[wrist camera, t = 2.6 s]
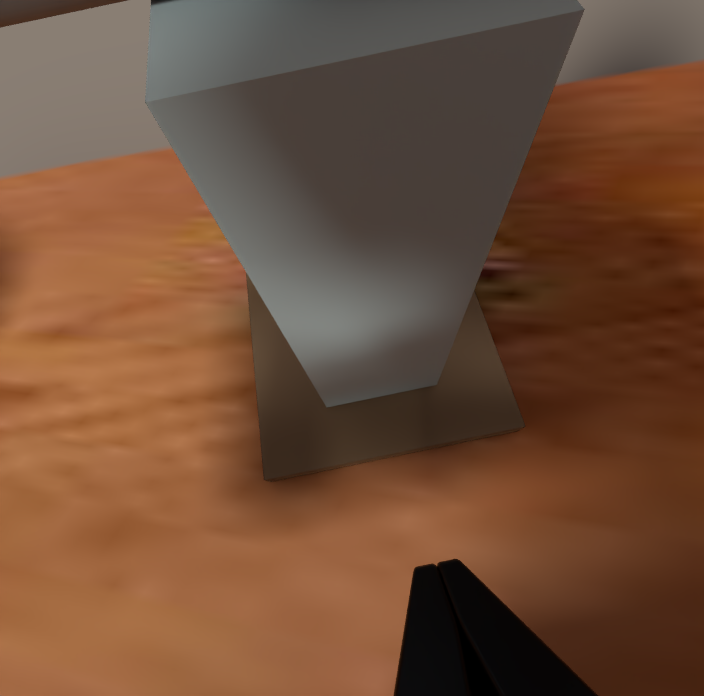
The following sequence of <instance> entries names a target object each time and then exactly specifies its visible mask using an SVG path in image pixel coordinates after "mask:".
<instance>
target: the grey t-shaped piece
mask: <svg viewBox="0 0 704 696" xmlns="http://www.w3.org/2000/svg"><path fill="white" fill-rule="evenodd" d="M122 1H127V0H0V27H5V26H9V25H14V24H19V23H23V22H28V21H33V20H38V19H42V18H47V17H52V16H56V15H61V14H66V13H70V12H75V11H79V10H84V9H89V8H94V7H98V6H103V5H107V4H112V3H117V2H122ZM583 12H584V8H583V7H582V6H581V4H580V3H579V2H578V1H577V0H151V12H150V13H151V14H150V29H149V46H148V65H147V81H146V99H145V103H146V104H147V106H148V108H149V109H150V111H151V112H152V114H153V116H154V118H155V120H156V121H157V123H158V125H159V126H160V128H161V130H162V131H163V133H164V135H165V136H166V138H167V140H168V141H169V143H170V145H171V146H172V148H173V150H174V151H175V153H176V155H177V157H178V158H179V160H180V162H181V163H182V165H183V167H184V168H185V170H186V172H187V173H188V175H189V177H190V178H191V180H192V182H193V183H194V185H195V187H196V188H197V190H198V192H199V194H200V195H201V197H202V199H203V200H204V202H205V204H206V205H207V207H208V209H209V210H210V212H211V214H212V215H213V217H214V219H215V220H216V222H217V224H218V225H219V227H220V229H221V231H222V232H223V234H224V236H225V237H226V239H227V241H228V242H229V244H230V246H231V247H232V249H233V251H234V252H235V254H236V256H237V257H238V259H239V261H240V262H241V264H242V266H243V268H244V269H245V271H246V273H247V274H248V276H249V278H250V279H251V281H252V283H253V284H254V286H255V288H256V289H257V291H258V293H259V294H260V296H261V298H262V300H263V301H264V303H265V305H266V306H267V308H268V310H269V311H270V313H271V315H272V316H273V318H274V320H275V321H276V323H277V325H278V326H279V328H280V330H281V331H282V333H283V335H284V337H285V338H286V340H287V342H288V343H289V345H290V347H291V348H292V350H293V352H294V353H295V355H296V357H297V358H298V360H299V362H300V363H301V365H302V367H303V368H304V370H305V372H306V374H307V375H308V377H309V379H310V380H311V382H312V384H313V385H314V387H315V389H316V390H317V392H318V394H319V395H320V397H321V399H322V400H323V402H324V404H325V405H326V407H332V406H337V405H342V404H346V403H351V402H356V401H361V400H366V399H371V398H376V397H380V396H385V395H390V394H395V393H400V392H405V391H409V390H414V389H419V388H424V387H429V386H434V385H437V383H438V380H439V378H440V375H441V373H442V370H443V368H444V365H445V363H446V360H447V358H448V355H449V353H450V350H451V347H452V345H453V342H454V340H455V337H456V335H457V332H458V330H459V327H460V325H461V322H462V320H463V317H464V314H465V312H466V309H467V307H468V304H469V302H470V299H471V297H472V294H473V292H474V289H475V287H476V284H477V281H478V279H479V276H480V274H481V271H482V269H483V266H484V264H485V261H486V259H487V256H488V253H489V251H490V248H491V246H492V243H493V241H494V238H495V236H496V233H497V231H498V228H499V226H500V223H501V220H502V218H503V215H504V213H505V210H506V208H507V205H508V203H509V200H510V198H511V195H512V193H513V190H514V187H515V185H516V182H517V180H518V177H519V175H520V172H521V170H522V167H523V165H524V162H525V159H526V157H527V154H528V152H529V149H530V147H531V144H532V142H533V139H534V137H535V134H536V132H537V129H538V126H539V124H540V121H541V119H542V116H543V114H544V111H545V109H546V106H547V104H548V101H549V99H550V96H551V93H552V91H553V88H554V86H555V83H556V81H557V78H558V76H559V73H560V71H561V68H562V65H563V63H564V60H565V58H566V55H567V53H568V50H569V48H570V45H571V42H572V40H573V37H574V35H575V32H576V30H577V27H578V25H579V22H580V20H581V17H582V15H583Z"/></svg>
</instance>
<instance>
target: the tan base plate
mask: <svg viewBox="0 0 704 696" xmlns="http://www.w3.org/2000/svg"><path fill="white" fill-rule="evenodd" d="M246 278H247V289H248V301H249V312H250V324H251V335H252V347H253V358H254V370H255V382H256V393H257V405H258V416H259V428H260V439H261V451H262V462H263V474H264V480H266V481H270V482H272V481H277V480H282V479H286V478H291V477H296V476H301V475H306V474H311V473H316V472H321V471H325V470H330V469H335V468H340V467H345V466H350V465H355V464H359V463H364V462H369V461H374V460H379V459H384V458H389V457H394V456H398V455H403V454H408V453H413V452H418V451H423V450H428V449H432V448H437V447H442V446H447V445H452V444H457V443H462V442H466V441H471V440H476V439H481V438H486V437H491V436H496V435H501V434H505V433H510V432H515V431H519V430H520V429H522V428H524V427H525V424H524V421H523V418H522V416H521V413H520V410H519V408H518V405H517V402H516V400H515V397H514V394H513V392H512V389H511V386H510V384H509V381H508V378H507V376H506V373H505V370H504V368H503V365H502V362H501V360H500V357H499V354H498V352H497V349H496V346H495V344H494V341H493V339H492V336H491V333H490V331H489V328H488V325H487V323H486V320H485V317H484V315H483V312H482V309H481V307H480V304H479V301H478V299H477V296H476V293H475V291H474V292H473V294H472V297H471V299H470V302H469V304H468V307H467V309H466V312H465V314H464V317H463V320H462V322H461V325H460V327H459V330H458V332H457V335H456V337H455V340H454V342H453V345H452V347H451V350H450V353H449V355H448V358H447V360H446V363H445V365H444V368H443V370H442V373H441V375H440V378H439V380H438V383H437V385H434V386H429V387H424V388H419V389H414V390H409V391H405V392H400V393H395V394H390V395H385V396H380V397H376V398H371V399H366V400H361V401H356V402H351V403H346V404H342V405H337V406H332V407H326V405H325V404H324V402H323V400H322V399H321V397H320V395H319V394H318V392H317V390H316V389H315V387H314V385H313V384H312V382H311V380H310V379H309V377H308V375H307V374H306V372H305V370H304V368H303V367H302V365H301V363H300V362H299V360H298V358H297V357H296V355H295V353H294V352H293V350H292V348H291V347H290V345H289V343H288V342H287V340H286V338H285V337H284V335H283V333H282V331H281V330H280V328H279V326H278V325H277V323H276V321H275V320H274V318H273V316H272V315H271V313H270V311H269V310H268V308H267V306H266V305H265V303H264V301H263V300H262V298H261V296H260V294H259V293H258V291H257V289H256V288H255V286H254V284H253V283H252V281H251V279H250V278H249V276H248V274H247V273H246Z"/></svg>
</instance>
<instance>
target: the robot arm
mask: <svg viewBox="0 0 704 696" xmlns="http://www.w3.org/2000/svg"><path fill="white" fill-rule="evenodd" d="M394 696H598V695H597V694H596V693H595V692H594V691H593V690H592V689H591V688H590V687H589V686H588V685H587V684H586V683H585V682H584V681H583V680H582V679H581V678H580V677H579V676H578V675H577V674H575V673H574V672H573V671H572V670H571V669H570V668H569V667H568V666H567V665H566V664H565V663H564V662H563V661H562V660H561V659H560V658H559V657H558V656H557V655H556V654H555V653H554V652H553V651H552V650H551V649H550V648H549V647H548V646H547V645H546V644H545V643H544V642H543V641H542V640H541V639H540V638H539V637H538V636H537V635H536V634H535V633H534V632H533V631H532V630H531V629H530V628H528V627H527V626H526V625H525V624H524V623H523V622H522V621H521V620H520V619H519V618H518V617H517V616H516V615H515V614H514V613H513V612H512V611H511V610H510V609H509V608H508V607H507V606H506V605H505V604H504V603H503V602H502V601H501V600H500V599H499V598H498V597H497V596H496V595H495V594H494V593H493V592H492V591H491V590H490V589H489V588H488V587H487V586H486V585H485V584H484V583H482V582H481V581H480V580H479V579H478V578H477V577H476V576H475V575H474V574H473V573H472V572H471V571H470V570H469V569H468V568H467V567H466V566H465V565H464V564H463V563H462V562H461V561H460V560H458V559H453V560H448V561H443V562H439V563H438V564H437V566H436V565H435V564H428V565H423V566H418V567H416V568H415V569H414V571H413V577H412V584H411V590H410V596H409V602H408V609H407V615H406V621H405V627H404V634H403V640H402V646H401V652H400V659H399V665H398V671H397V677H396V684H395V690H394Z"/></svg>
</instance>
